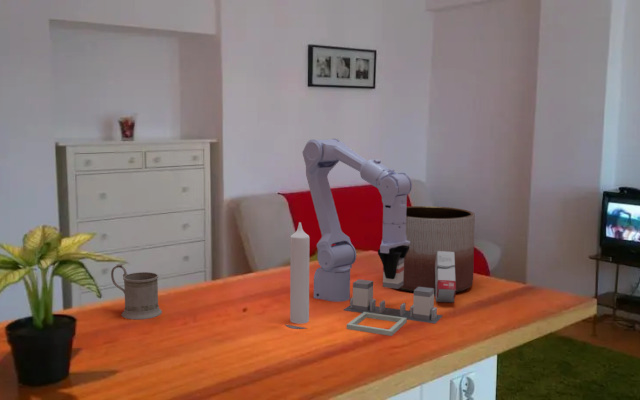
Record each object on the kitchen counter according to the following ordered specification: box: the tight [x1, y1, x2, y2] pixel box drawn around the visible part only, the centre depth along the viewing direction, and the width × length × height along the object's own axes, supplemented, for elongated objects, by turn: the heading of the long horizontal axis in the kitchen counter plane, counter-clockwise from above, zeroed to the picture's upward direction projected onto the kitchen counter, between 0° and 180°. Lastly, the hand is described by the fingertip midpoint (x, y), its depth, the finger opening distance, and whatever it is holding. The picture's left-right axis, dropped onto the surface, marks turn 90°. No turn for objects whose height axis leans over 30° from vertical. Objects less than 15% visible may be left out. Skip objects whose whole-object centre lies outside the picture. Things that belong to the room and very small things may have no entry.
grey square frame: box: [346, 312, 408, 337], centre depth 156 cm, size 11×11×2 cm
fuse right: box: [412, 287, 435, 321], centre depth 162 cm, size 4×4×7 cm
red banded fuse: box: [382, 257, 404, 290], centre depth 164 cm, size 4×4×7 cm
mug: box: [110, 263, 163, 320], centre depth 167 cm, size 14×10×12 cm
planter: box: [399, 205, 476, 295], centre depth 195 cm, size 25×25×22 cm
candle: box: [284, 221, 310, 330], centre depth 157 cm, size 7×7×25 cm
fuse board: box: [343, 296, 444, 324], centre depth 165 cm, size 24×7×4 cm, turn 65°
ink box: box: [435, 251, 456, 303], centre depth 176 cm, size 9×5×12 cm
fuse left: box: [352, 278, 374, 312], centre depth 168 cm, size 4×4×7 cm
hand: (393, 276), depth 164 cm, fingers closed on red banded fuse, 4 cm apart
